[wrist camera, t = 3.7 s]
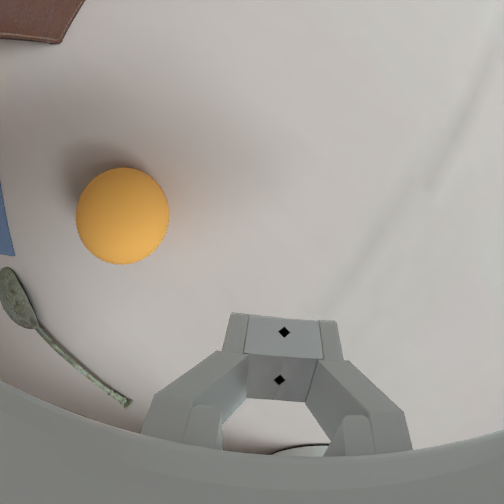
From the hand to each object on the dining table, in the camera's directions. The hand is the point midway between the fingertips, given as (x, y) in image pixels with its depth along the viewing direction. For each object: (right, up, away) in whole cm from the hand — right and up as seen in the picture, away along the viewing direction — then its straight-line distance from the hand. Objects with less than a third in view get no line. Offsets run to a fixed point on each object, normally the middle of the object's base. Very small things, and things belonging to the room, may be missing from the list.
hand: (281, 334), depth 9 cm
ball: (-9, +5, +9) cm, 14 cm away
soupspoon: (-22, -7, +21) cm, 32 cm away
